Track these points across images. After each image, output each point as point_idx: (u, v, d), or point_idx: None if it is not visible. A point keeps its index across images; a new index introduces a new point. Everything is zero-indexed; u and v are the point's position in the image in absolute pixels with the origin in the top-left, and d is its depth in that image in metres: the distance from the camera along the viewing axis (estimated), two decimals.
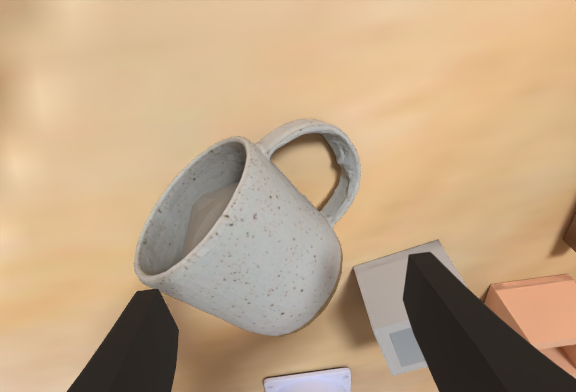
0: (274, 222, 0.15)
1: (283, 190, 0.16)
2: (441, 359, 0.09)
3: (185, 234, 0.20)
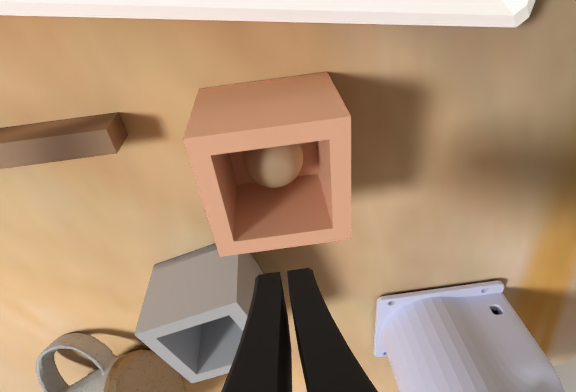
0: None
1: None
2: (305, 377, 0.09)
3: None
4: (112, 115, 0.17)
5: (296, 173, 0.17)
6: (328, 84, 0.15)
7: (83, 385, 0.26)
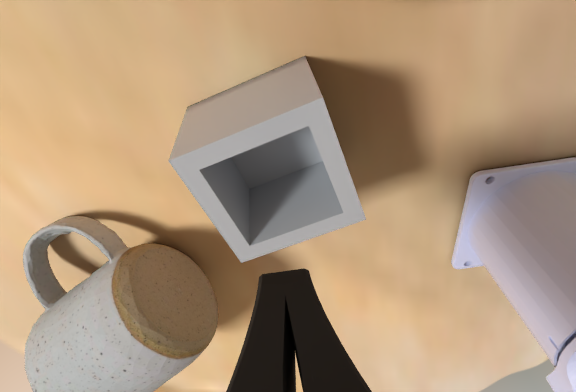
0: (47, 354, 0.18)
1: (49, 322, 0.19)
2: (301, 378, 0.09)
3: None
4: None
5: None
6: None
7: (85, 281, 0.20)
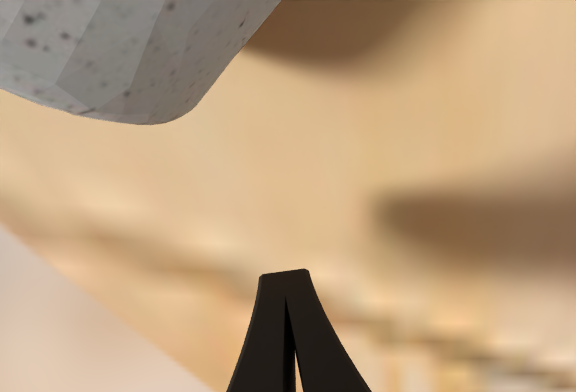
0: None
1: None
2: (301, 378, 0.09)
3: None
4: None
5: None
6: None
7: None
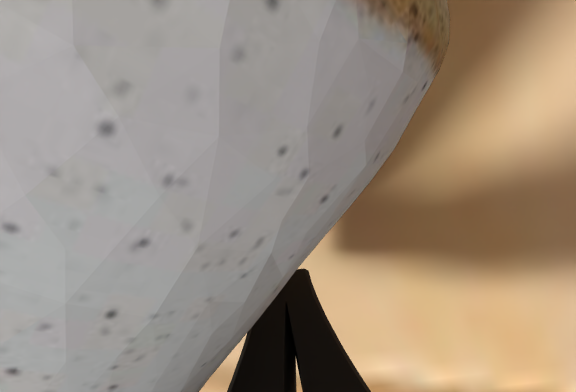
0: None
1: None
2: None
3: None
4: None
5: None
6: None
7: None
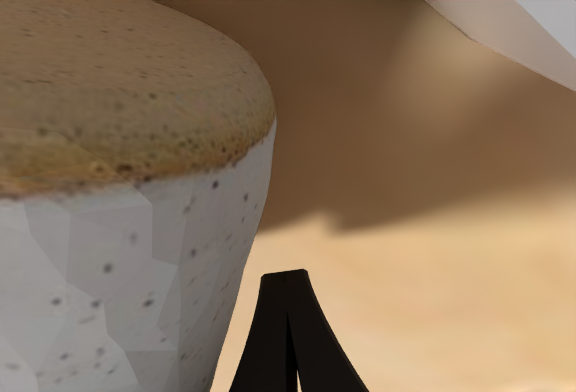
0: None
1: None
2: (299, 378, 0.09)
3: None
4: None
5: None
6: None
7: None
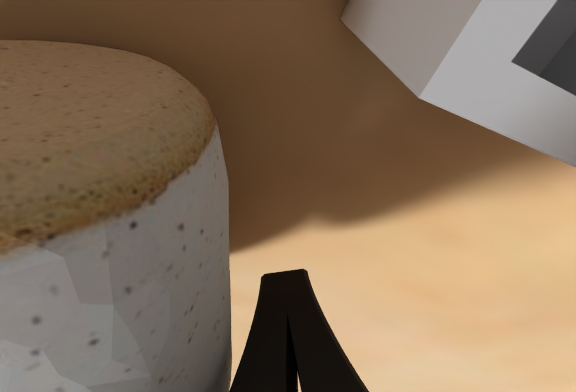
0: None
1: None
2: (299, 378, 0.09)
3: None
4: None
5: None
6: None
7: None
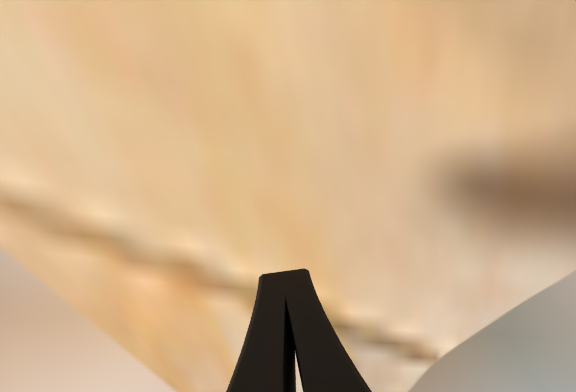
0: None
1: None
2: (301, 378, 0.09)
3: None
4: None
5: None
6: None
7: None
